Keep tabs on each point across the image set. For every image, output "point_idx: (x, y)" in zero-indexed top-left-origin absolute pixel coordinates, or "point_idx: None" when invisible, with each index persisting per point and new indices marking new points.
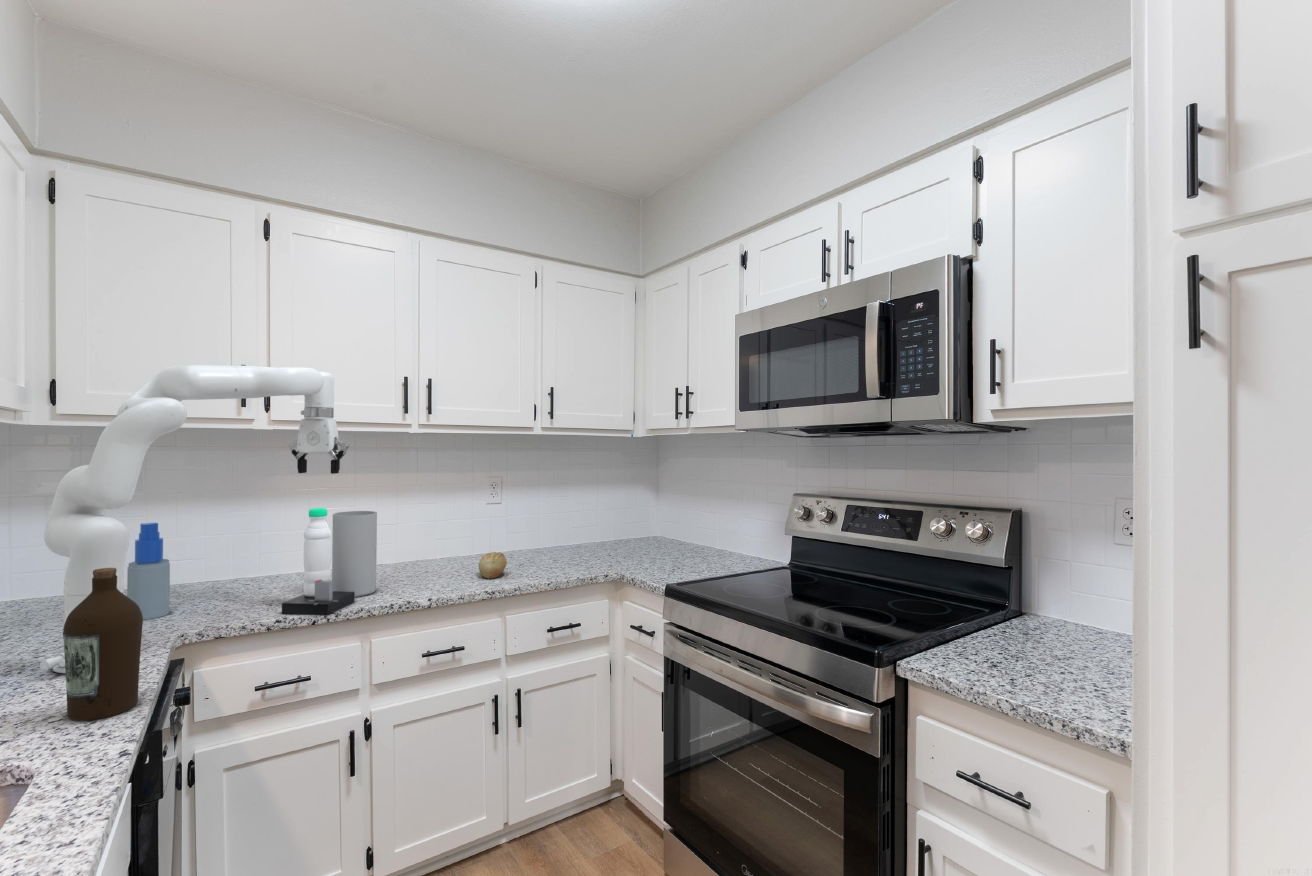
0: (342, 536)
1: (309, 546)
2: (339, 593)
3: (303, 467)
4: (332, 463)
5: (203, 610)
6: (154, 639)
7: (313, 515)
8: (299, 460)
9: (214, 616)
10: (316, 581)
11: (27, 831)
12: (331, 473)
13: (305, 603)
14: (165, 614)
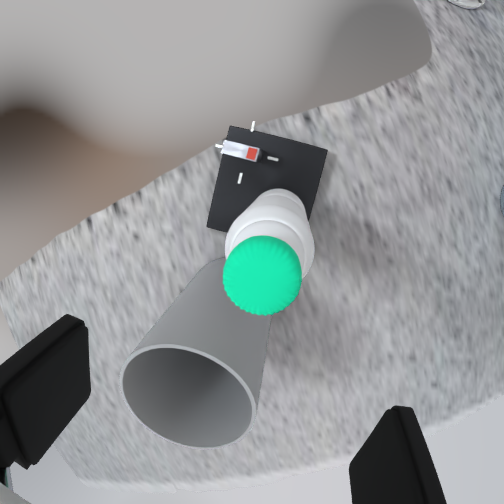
0: (217, 314)
1: (285, 203)
2: (233, 216)
3: (376, 471)
4: (10, 360)
5: (463, 212)
6: (453, 50)
7: (271, 237)
8: (431, 500)
9: (435, 163)
10: (255, 149)
11: None
12: (83, 321)
13: (277, 137)
14: (501, 194)
